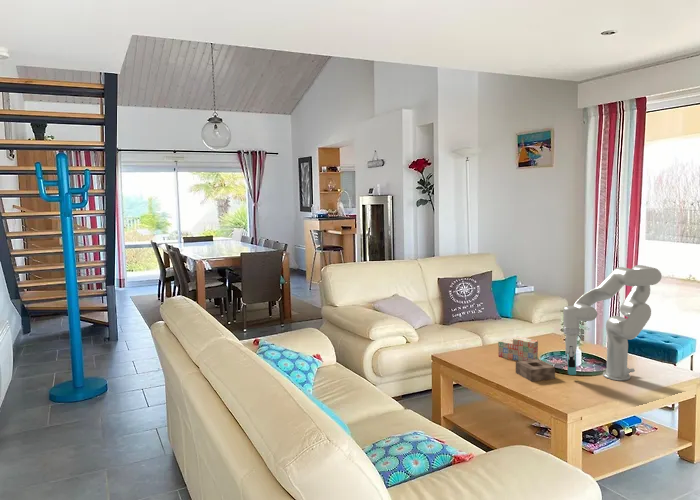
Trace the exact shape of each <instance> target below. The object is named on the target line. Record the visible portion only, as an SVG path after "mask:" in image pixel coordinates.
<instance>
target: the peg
mask: <svg viewBox="0 0 700 500" xmlns="http://www.w3.org/2000/svg"><path fill="white" fill-rule="evenodd" d="M569 353H570V352H568V353H567V360H568V359H569ZM573 354H574V353H573ZM574 357H575V359H574V360H575V368H574V367H568V366H567V375H570V376H575V375H577V353H576V354H575V355H574Z"/></svg>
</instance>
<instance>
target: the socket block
mask: <svg viewBox="0 0 700 500" xmlns="http://www.w3.org/2000/svg"><path fill="white" fill-rule="evenodd" d="M515 374H517V375H519V376H521V377H522V378H524V379H526V380H528V381H530V382H537V381H545V380H553V379H556V366H554V365H551V364H550V363H547V362H546V361H543V360H541V359H535V360H527V361H515Z"/></svg>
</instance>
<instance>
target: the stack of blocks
mask: <svg viewBox="0 0 700 500" xmlns="http://www.w3.org/2000/svg"><path fill="white" fill-rule="evenodd" d="M497 343H498V347H497V348H498V353H497V354H498V357H501V358H503V359H504V358H505V359H509V360H514V361H516V362H518V361H527V360H535V359H538V355H539V354H538V353H539V352H538V351H539V341H538V340H536V339H533V338H525V337H520V336H516V337H515V338H513V339H512V340H509V339H500V340H499V341H497Z"/></svg>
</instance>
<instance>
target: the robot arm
mask: <svg viewBox="0 0 700 500" xmlns="http://www.w3.org/2000/svg"><path fill="white" fill-rule="evenodd" d="M661 280H662V273H661V271H660V269H658V268H656V267H652V266H646V265H640V264H639V265H638V264H637V265H634V266H633V267H632V268H628V267H624V266H618V267H616V268H614V269H613V270H612V272H610V273H609V274H608V276H606V277H605V278H604V280H602V282H601V283H600V284H599V285H598V286H596V287H594V288H592V289H591V290H589V291H587V292H585V293H583V294H582V295H581V296H579V298H578V299H577V300H576V301H575V303H574V304H573V305H566V306H564V307H563V310H562V311H563V315H562V317H563V334H564V335H565V354H566V355H568V352H570V353H569V359H568V358H567V368H568V367H574V368H575V360H574V359H575V357H574V355H575V354H576V355H577V349H578V348H577V347H578V335H580V329H581V328H580V322H581V321H582V322H591V321H595V320H596V318H597V317H598V312H597V309H596V308H594V307H593V305H594V304H596V303H598V302H601V301H606V300H609V299H613V297H615V296H616V295H617V293H618V292H619V291H620V290H621V289H622V288H623V287H624V286H628V287H632V288H631V290H630V291H629V293H628V294H627V296H626V297H625V299H624V300H623V302H622V303H621V305H620V307H619V312H620V313H621V315H623V317H622V316H619V315H613V316H610V317H609V318H608V319H607V320H606V322H605V330H606V331H605V332H606V336H607V341H606V344H607V345H606V369H605V371H603V372H602V376H603V377H604V378H606V379H609V380H613V381H629V380H630V379H631V374H630V373H635V371H636V370H635V368H634V367H632V368H629V367H628V359H629V358H628V351H629V341H628V340H633V339H635V338H637V336H639V335H640V333H641V332H642V330H643V328H644V327H645V326H646V325H647V324H648V322H649V320H650V318H651V316H652V308H651V307H650V305H649V304H648V303H646V302H647V301H648V299H649V297H650V294H651V286H654V285H657V284H658V283H660V282H661ZM624 316H625V317H624ZM626 317H627V318H626ZM573 353H574V354H573Z"/></svg>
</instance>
